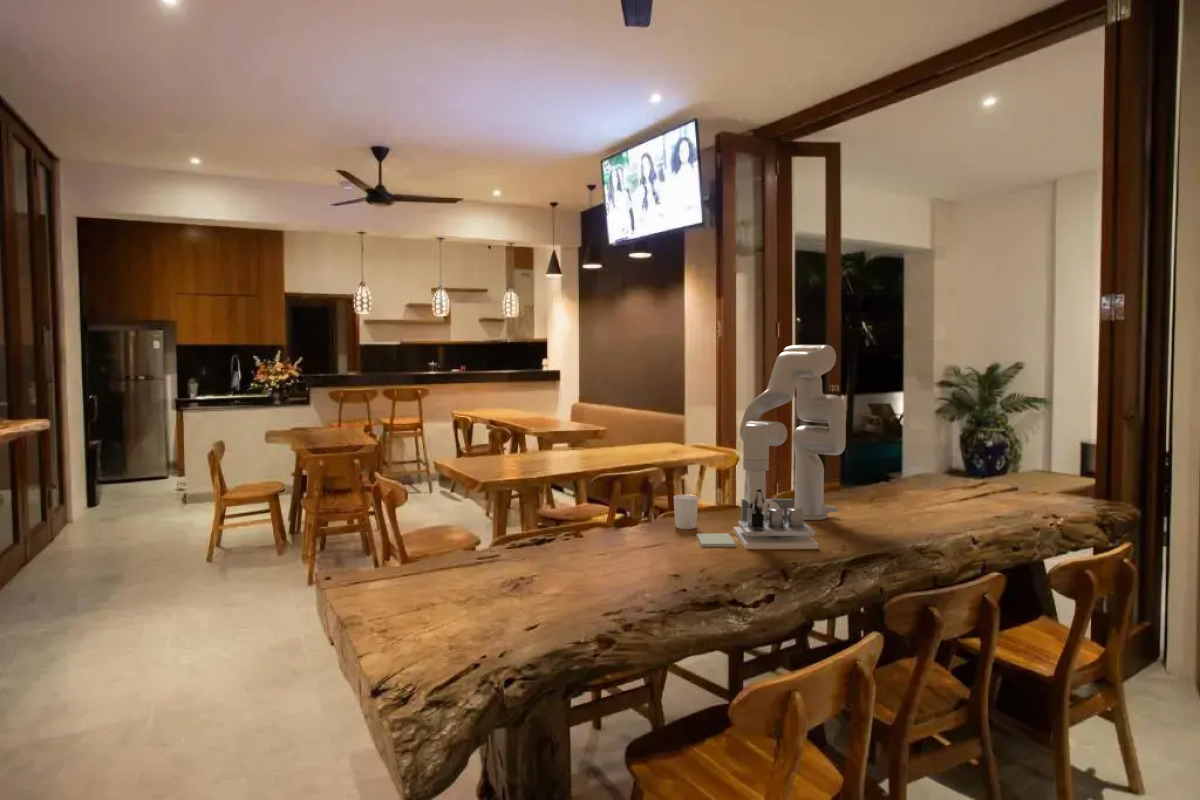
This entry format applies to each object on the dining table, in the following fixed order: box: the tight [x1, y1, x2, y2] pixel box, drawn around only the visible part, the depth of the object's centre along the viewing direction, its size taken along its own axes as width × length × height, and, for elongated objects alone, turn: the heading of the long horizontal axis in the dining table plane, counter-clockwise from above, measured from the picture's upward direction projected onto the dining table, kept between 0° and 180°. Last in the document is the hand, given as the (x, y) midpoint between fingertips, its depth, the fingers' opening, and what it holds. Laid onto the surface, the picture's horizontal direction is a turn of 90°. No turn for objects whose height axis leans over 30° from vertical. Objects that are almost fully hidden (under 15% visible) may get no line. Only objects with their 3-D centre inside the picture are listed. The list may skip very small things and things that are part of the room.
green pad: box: [696, 532, 737, 548], centre depth 227 cm, size 10×12×1 cm
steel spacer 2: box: [787, 507, 805, 528], centre depth 226 cm, size 5×5×5 cm
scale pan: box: [737, 520, 816, 537], centre depth 227 cm, size 20×14×1 cm
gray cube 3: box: [747, 508, 764, 528], centre depth 227 cm, size 5×5×5 cm
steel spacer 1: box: [767, 508, 784, 528], centre depth 226 cm, size 5×5×5 cm
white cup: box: [673, 494, 699, 530], centre depth 246 cm, size 8×8×10 cm
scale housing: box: [732, 498, 819, 550], centre depth 229 cm, size 21×21×10 cm
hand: (755, 523), depth 227 cm, fingers closed on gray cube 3, 5 cm apart
